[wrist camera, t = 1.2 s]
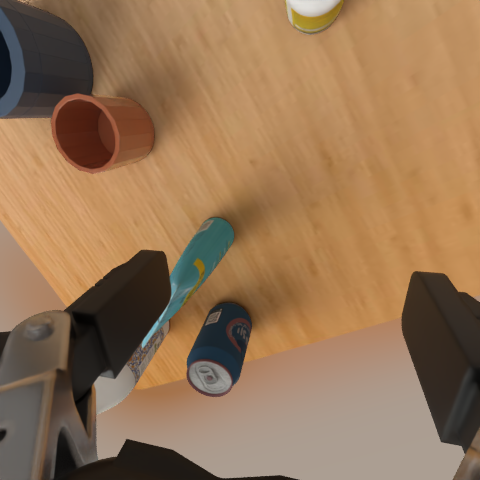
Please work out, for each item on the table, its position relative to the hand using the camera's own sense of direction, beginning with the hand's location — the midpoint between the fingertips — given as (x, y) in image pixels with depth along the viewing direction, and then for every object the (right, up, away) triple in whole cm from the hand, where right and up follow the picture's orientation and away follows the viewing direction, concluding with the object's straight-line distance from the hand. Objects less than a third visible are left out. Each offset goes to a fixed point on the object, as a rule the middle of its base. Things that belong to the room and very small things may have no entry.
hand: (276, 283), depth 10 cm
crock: (-16, +15, +29) cm, 36 cm away
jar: (-25, +23, +27) cm, 43 cm away
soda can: (-3, -11, +37) cm, 38 cm away
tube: (-4, +2, +32) cm, 32 cm away
